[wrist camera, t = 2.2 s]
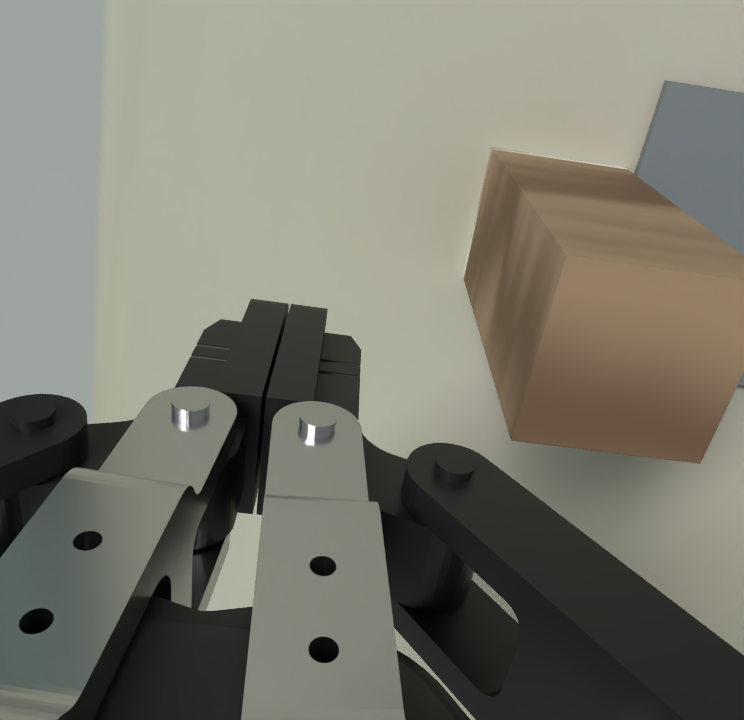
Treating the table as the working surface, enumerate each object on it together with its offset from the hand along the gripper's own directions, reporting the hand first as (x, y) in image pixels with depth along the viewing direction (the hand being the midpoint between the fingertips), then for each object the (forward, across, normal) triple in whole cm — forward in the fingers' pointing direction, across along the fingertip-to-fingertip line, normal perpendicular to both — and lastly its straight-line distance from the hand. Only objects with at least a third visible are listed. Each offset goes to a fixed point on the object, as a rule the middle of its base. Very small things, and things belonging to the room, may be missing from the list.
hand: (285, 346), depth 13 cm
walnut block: (+11, -8, 0) cm, 13 cm away
